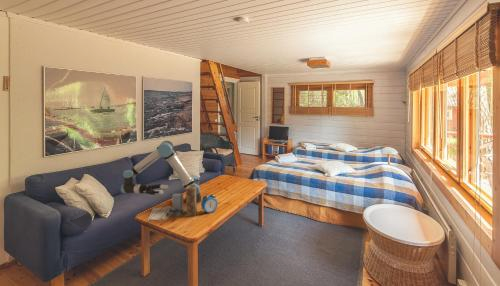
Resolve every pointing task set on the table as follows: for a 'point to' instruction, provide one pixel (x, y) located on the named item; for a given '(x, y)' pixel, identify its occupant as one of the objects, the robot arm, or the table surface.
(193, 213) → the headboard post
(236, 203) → the table surface
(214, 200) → the alarm clock
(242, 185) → the table surface
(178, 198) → the rail end
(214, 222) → the table surface
